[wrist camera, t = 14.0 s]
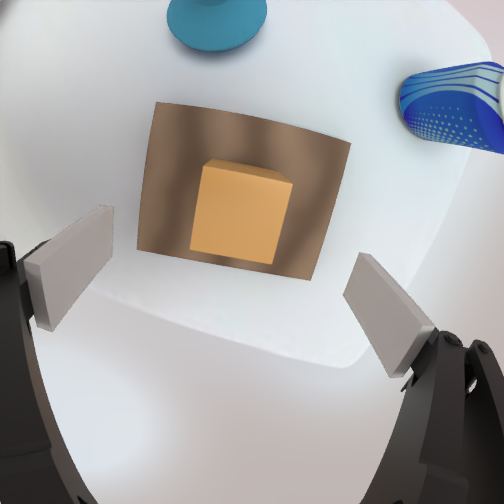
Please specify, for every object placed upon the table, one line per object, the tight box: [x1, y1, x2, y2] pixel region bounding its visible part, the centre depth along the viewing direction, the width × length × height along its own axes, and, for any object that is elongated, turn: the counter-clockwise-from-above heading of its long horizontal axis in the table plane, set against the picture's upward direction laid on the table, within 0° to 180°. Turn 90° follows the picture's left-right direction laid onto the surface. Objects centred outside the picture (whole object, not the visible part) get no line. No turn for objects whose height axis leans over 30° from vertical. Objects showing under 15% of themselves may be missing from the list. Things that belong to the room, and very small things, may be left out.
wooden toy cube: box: [190, 158, 293, 264], centre depth 24 cm, size 6×6×7 cm
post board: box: [137, 102, 351, 281], centre depth 26 cm, size 20×16×9 cm
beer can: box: [399, 62, 504, 154], centre depth 19 cm, size 8×8×16 cm
